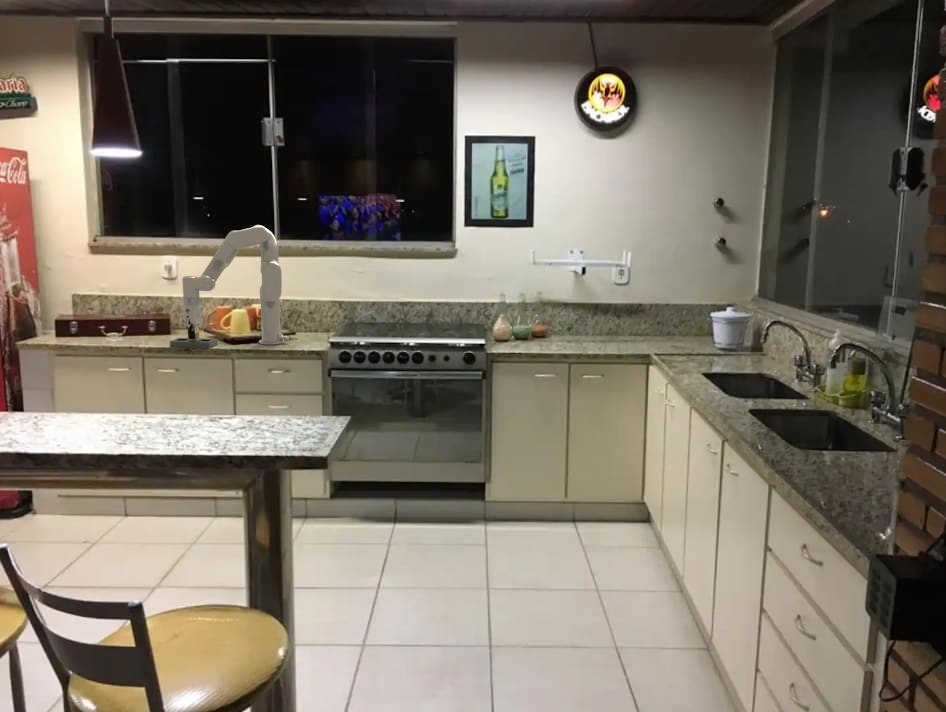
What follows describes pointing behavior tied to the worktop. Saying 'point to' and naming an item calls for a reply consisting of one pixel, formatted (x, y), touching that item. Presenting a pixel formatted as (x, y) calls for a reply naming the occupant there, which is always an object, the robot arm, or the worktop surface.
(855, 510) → the worktop surface
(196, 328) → the beech peg
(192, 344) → the grey compartment tray
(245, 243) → the robot arm
